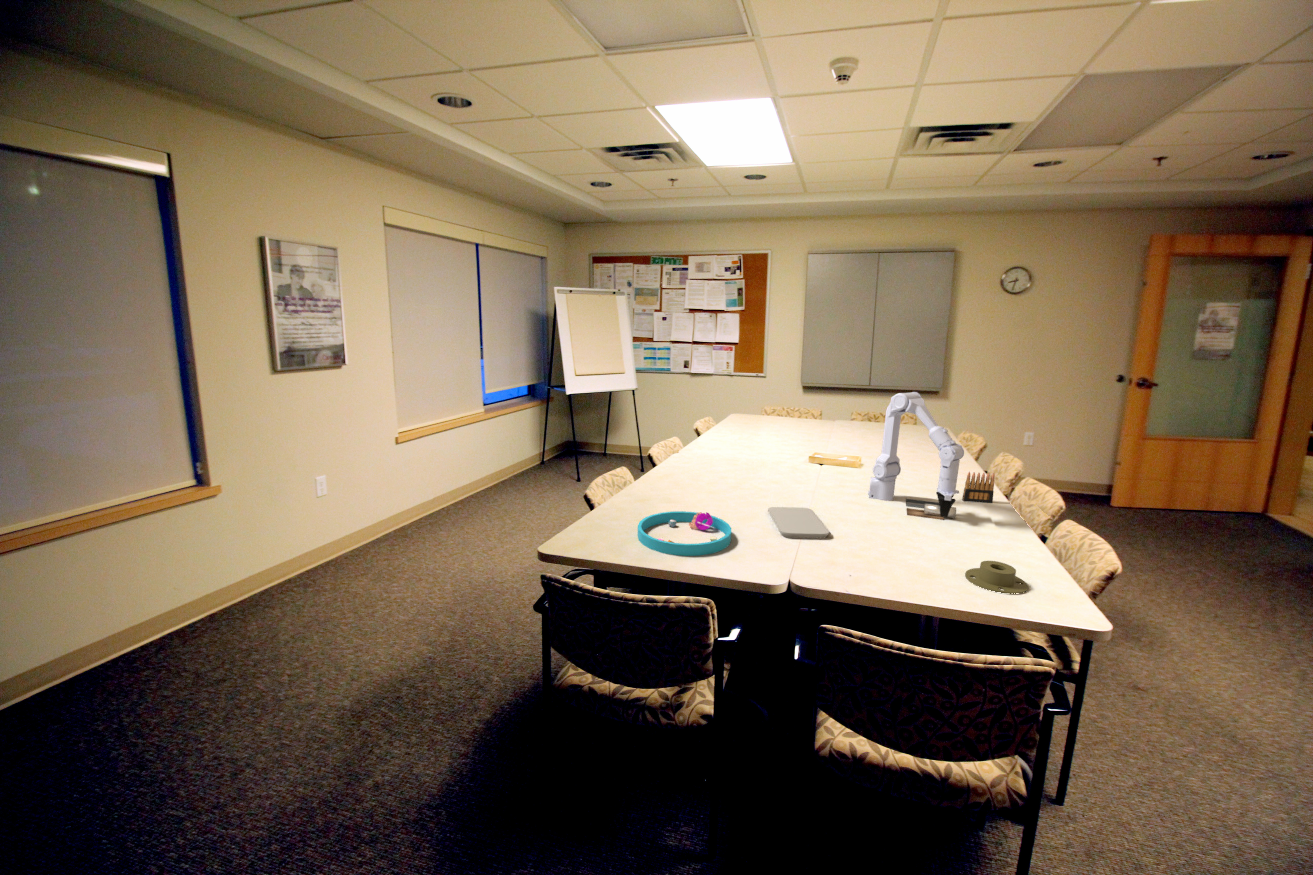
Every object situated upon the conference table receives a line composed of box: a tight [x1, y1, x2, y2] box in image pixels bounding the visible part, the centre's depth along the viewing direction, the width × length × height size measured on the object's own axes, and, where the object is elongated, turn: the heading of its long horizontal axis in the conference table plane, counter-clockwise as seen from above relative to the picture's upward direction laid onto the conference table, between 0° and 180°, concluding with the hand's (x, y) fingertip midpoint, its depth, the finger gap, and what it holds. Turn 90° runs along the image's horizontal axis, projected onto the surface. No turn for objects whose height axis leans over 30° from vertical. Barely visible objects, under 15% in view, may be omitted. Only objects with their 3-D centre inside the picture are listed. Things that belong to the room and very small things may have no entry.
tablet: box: [767, 506, 830, 540], centre depth 198 cm, size 16×26×2 cm, turn 0°
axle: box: [923, 504, 957, 519], centre depth 207 cm, size 10×4×4 cm, turn 69°
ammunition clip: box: [961, 471, 995, 504], centre depth 228 cm, size 11×2×12 cm, turn 80°
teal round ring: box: [637, 510, 732, 557], centre depth 185 cm, size 30×30×6 cm
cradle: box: [905, 497, 939, 509], centre depth 219 cm, size 14×7×2 cm, turn 69°
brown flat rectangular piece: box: [905, 507, 945, 521], centre depth 209 cm, size 12×7×2 cm, turn 69°
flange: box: [964, 560, 1029, 595], centre depth 158 cm, size 5×15×15 cm
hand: (943, 514), depth 207 cm, fingers closed on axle, 4 cm apart
